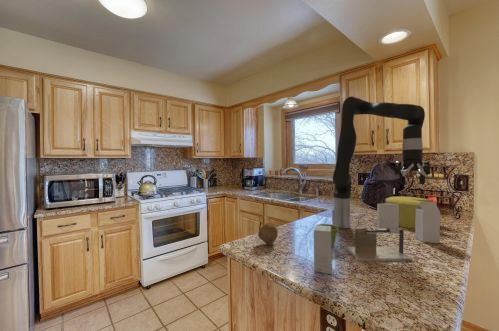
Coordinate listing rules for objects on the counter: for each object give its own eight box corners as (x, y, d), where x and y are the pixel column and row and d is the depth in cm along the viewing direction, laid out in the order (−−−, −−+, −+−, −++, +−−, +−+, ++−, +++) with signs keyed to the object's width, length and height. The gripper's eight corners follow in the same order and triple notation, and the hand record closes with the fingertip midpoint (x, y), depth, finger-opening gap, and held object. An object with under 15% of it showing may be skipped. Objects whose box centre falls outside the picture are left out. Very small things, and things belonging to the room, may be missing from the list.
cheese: (448, 229, 129) (449, 203, 128) (402, 229, 129) (402, 203, 129) (415, 217, 155) (415, 195, 154) (377, 217, 155) (377, 195, 155)
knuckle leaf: (379, 233, 93) (380, 204, 92) (375, 231, 95) (376, 203, 95) (399, 233, 93) (399, 204, 92) (394, 231, 95) (395, 203, 95)
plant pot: (337, 243, 107) (338, 225, 107) (338, 250, 98) (339, 230, 98) (317, 240, 110) (317, 223, 110) (316, 247, 101) (316, 228, 101)
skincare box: (331, 274, 78) (331, 232, 77) (313, 271, 80) (313, 230, 80) (331, 264, 86) (332, 225, 85) (315, 261, 88) (315, 223, 87)
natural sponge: (255, 246, 103) (255, 224, 103) (261, 240, 111) (261, 220, 111) (275, 249, 100) (275, 227, 99) (279, 242, 108) (279, 221, 108)
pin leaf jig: (358, 260, 88) (359, 233, 88) (345, 248, 100) (346, 224, 100) (412, 261, 88) (413, 233, 88) (393, 248, 100) (393, 224, 100)
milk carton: (439, 243, 107) (440, 203, 106) (422, 242, 108) (423, 203, 108) (430, 238, 114) (431, 200, 113) (415, 237, 115) (415, 200, 115)
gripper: (401, 148, 99) (402, 185, 99) (434, 148, 99) (434, 185, 99) (391, 149, 107) (391, 183, 107) (421, 149, 106) (422, 183, 107)
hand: (412, 184), depth 103 cm, fingers open, 8 cm apart
